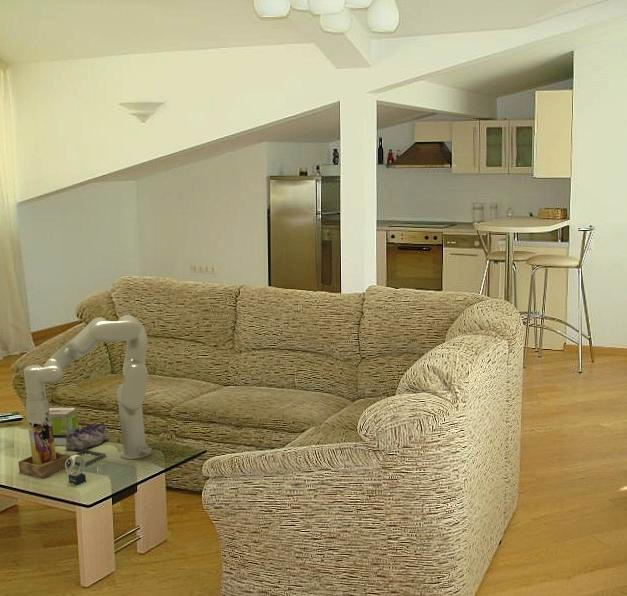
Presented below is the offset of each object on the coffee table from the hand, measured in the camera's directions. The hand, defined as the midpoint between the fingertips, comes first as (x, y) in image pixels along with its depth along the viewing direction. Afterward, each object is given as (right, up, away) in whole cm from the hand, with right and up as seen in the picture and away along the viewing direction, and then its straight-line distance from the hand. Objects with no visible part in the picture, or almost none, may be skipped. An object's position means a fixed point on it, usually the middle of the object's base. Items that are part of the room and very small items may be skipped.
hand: (41, 437), depth 386 cm
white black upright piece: (+18, -16, -13) cm, 27 cm away
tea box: (-2, -7, +36) cm, 37 cm away
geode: (+12, -8, +30) cm, 33 cm away
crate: (+1, -14, +3) cm, 14 cm away
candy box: (+1, -10, +2) cm, 11 cm away
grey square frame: (+15, -11, +11) cm, 22 cm away
